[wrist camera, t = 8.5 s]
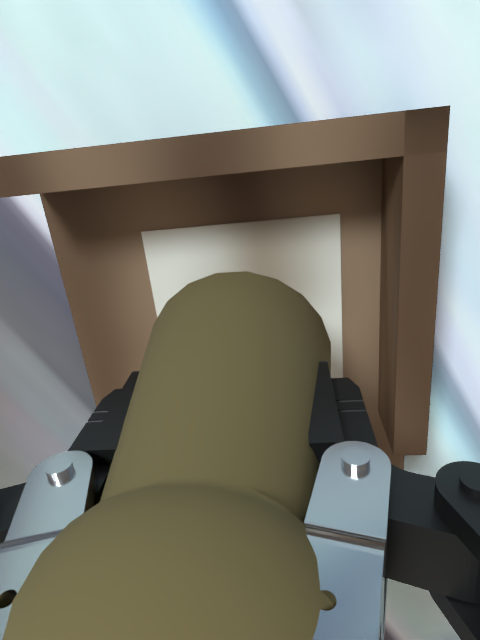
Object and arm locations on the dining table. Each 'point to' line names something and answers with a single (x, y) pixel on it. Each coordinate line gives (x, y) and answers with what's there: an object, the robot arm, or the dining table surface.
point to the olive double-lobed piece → (200, 484)
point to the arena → (261, 242)
